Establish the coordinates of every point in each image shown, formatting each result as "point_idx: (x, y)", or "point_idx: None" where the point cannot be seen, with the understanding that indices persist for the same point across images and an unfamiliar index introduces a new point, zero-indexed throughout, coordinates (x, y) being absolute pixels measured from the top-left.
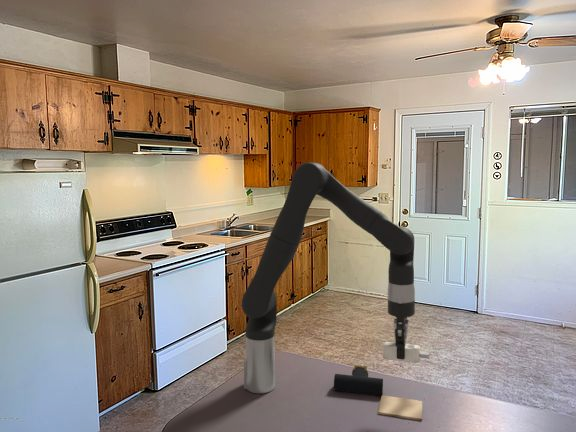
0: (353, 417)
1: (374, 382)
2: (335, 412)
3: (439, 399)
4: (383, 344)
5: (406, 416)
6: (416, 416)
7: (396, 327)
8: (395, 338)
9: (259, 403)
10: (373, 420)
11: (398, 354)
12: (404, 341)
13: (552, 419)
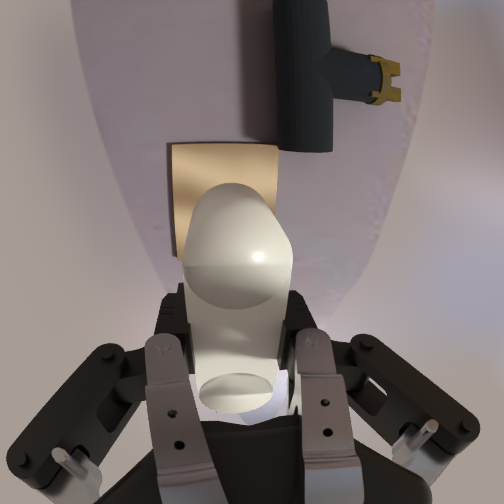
0: (134, 83)
1: (295, 122)
2: (149, 32)
3: (297, 291)
4: (217, 218)
5: (175, 223)
6: (183, 247)
7: (123, 492)
8: (46, 403)
9: None
10: (135, 137)
11: (160, 309)
12: (104, 423)
13: (262, 416)
